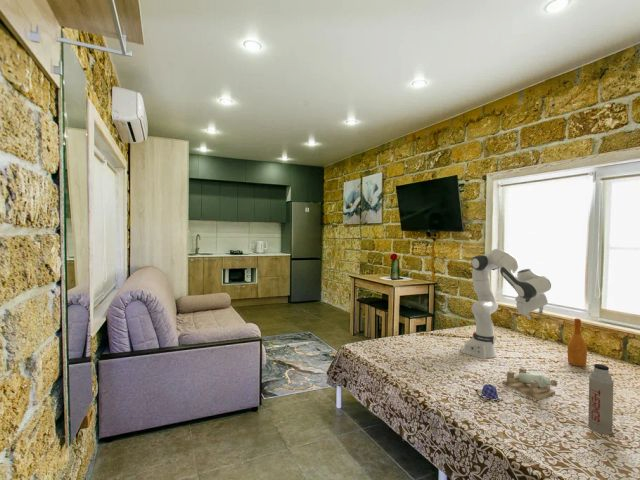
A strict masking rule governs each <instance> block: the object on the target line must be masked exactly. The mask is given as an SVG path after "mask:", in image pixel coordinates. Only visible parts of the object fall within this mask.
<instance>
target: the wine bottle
mask: <svg viewBox="0 0 640 480" xmlns="http://www.w3.org/2000/svg"><path fill="white" fill-rule="evenodd" d="M573 322H574V330H573V333H572V335H571V337H570V339H569V341H568V344H567V363H569V364H570V365H573V366H576V367H586V365H587V362H588V361H587V357H588V349H587V345H586V341H585V340H584V337H583V334H582V332H581V325H582V320H581V319H580V318H574V321H573Z"/></svg>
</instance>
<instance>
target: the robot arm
mask: <svg viewBox="0 0 640 480" xmlns="http://www.w3.org/2000/svg"><path fill="white" fill-rule="evenodd" d="M470 263H471V266H472V269H471V272H472V273H471V275H472V277H471V278H472V285H473V291H474V293H475V294H476V296H477V299H478V300H477V301H475V302H474V303H472V305H471V307H470V308H471V312H472V314H473V315H474V319H475V331H473V333H472V337H471V338H470V339H468V340H466V341H465V343H464V346H462V347H461V348H460V352H461V353H462V354H465V355H469V356H472V357H475V358H476V357H477V358H479V359H486V358H487V359H492V358H495V357H496V356H497V354H496V351H495V333H494V329H495V328H494V326H495V325H494V323H493V320H492V316H491V315H492V314H494V313H496V312H497V310H498V309H499V303H498V301H497V300H496V299H495V296H494V293H493V290H492V285H491V278H490V272H491V271H496V270H498V269H500V270H499V272H500V274H501V276H502V277H503V279H505V281H507V282H508V284H509V285H510V286H511V287H512V288H513V289H514V291H516V293H517V294H518V295H517V296H515V300H514V301H516V311H517V312H518V314H519V315H522V316H525V317H526V319H527V320H530V321H531V319H532V316H531V315H529V314H530V313H531V312H533V311H536V310H538V314H540V315H541V314H544V311H543V310H544V306H547V305H548V302H549V301H548V298H547V296H546V294H545V293H546V292H549V291H551V288H552V283H551V281H550V278H548V277H546V276H544V275H540V274H537V273H535V272H534V270H532V269H531V268H525V269H521V270H519V271H518V269H519V266H520V264H519V263H520V262H519V260H518V258H516V257H515V255H514V256H513V255H512V254H510V253H509V252H507V251H505V250H502V249H500V248H495V249H492V250H491V251H490V253H485V254H481V255H480V254H479V255H475V256H473V258H472V259H471V262H470ZM516 272H517V275H515V273H516Z"/></svg>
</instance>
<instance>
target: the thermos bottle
mask: <svg viewBox="0 0 640 480" xmlns="http://www.w3.org/2000/svg"><path fill="white" fill-rule="evenodd" d="M609 369H610V368H609V366H607V365H604V364H600V363H594V364H593V370H591V372H590V375H589V376H588V381H589V382H588V421H587V422H588V425H587V426H588V427H589V428H590V429H591V430H592V429H593V430H592V431H594V430H595V431H594V432H596V431H597V433H600V434H602V433H603V435H612V434H613V427H614V426H613V423H614V422H613V421H614V380H613V378H612V374H610V371H609Z"/></svg>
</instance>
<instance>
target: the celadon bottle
mask: <svg viewBox="0 0 640 480" xmlns="http://www.w3.org/2000/svg"><path fill="white" fill-rule="evenodd" d="M545 377H546V376H545V375H542V374H541V375H540V374H533V373H528V372H526V373H520V374H519V381H520V382H521V383H525V384H530V381H532V380H534V381H536V382H538V386H541V387H545V386H547V385H550V386H552V387H557V385H558V381H557V380H555V379H550V380H549V379H547V378H545Z"/></svg>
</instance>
